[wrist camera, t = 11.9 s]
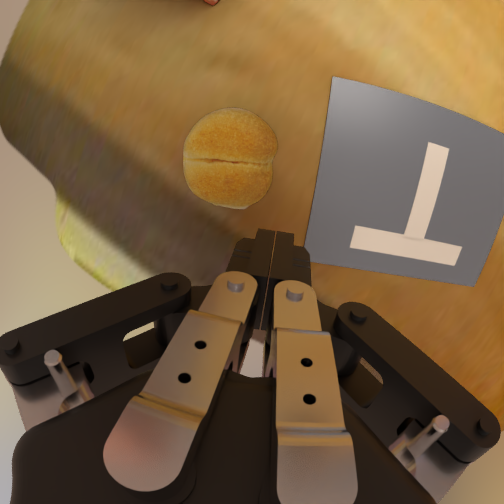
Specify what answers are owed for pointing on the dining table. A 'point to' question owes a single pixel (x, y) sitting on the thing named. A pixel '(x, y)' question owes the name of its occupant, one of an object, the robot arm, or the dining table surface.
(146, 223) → the dining table surface
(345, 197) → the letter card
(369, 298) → the dining table surface
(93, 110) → the dining table surface
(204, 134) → the bread roll
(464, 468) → the robot arm
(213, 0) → the cracker box
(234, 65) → the dining table surface
